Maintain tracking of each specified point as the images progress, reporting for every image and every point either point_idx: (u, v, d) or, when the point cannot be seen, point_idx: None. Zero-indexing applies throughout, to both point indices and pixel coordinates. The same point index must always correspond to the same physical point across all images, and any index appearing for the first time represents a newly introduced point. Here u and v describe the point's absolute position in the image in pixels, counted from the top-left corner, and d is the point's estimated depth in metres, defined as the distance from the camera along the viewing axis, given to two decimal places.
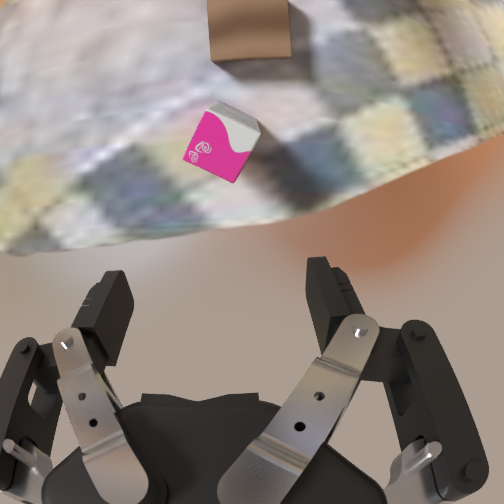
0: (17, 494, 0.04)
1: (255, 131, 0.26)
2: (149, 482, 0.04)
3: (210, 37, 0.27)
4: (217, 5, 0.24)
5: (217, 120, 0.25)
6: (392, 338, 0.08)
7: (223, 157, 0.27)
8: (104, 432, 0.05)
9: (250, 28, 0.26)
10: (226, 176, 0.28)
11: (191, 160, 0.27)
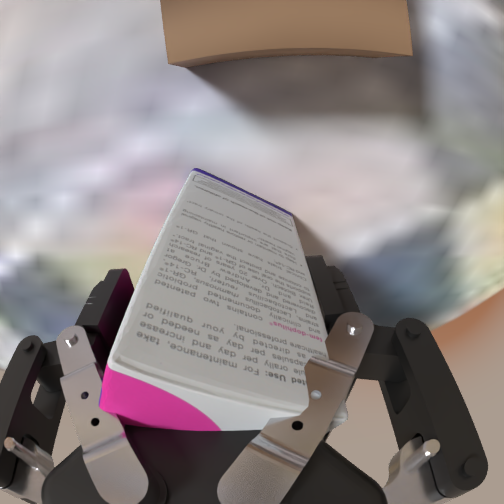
0: (17, 492, 0.04)
1: None
2: (149, 482, 0.04)
3: None
4: None
5: (169, 400, 0.05)
6: (387, 336, 0.09)
7: None
8: (106, 431, 0.05)
9: None
10: None
11: None
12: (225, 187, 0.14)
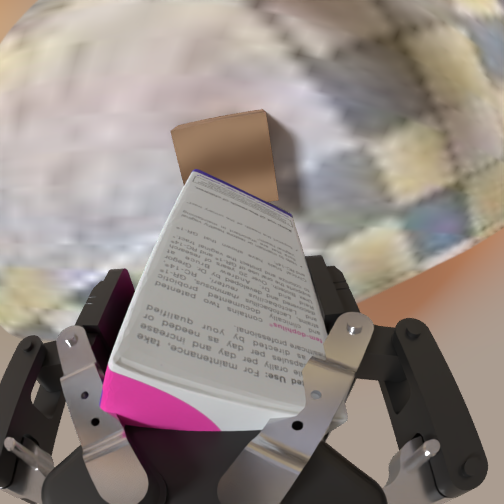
0: (17, 492, 0.04)
1: None
2: (149, 483, 0.04)
3: None
4: (187, 146, 0.27)
5: (169, 401, 0.05)
6: (387, 336, 0.09)
7: None
8: (106, 431, 0.05)
9: (228, 173, 0.28)
10: None
11: None
12: (225, 188, 0.14)
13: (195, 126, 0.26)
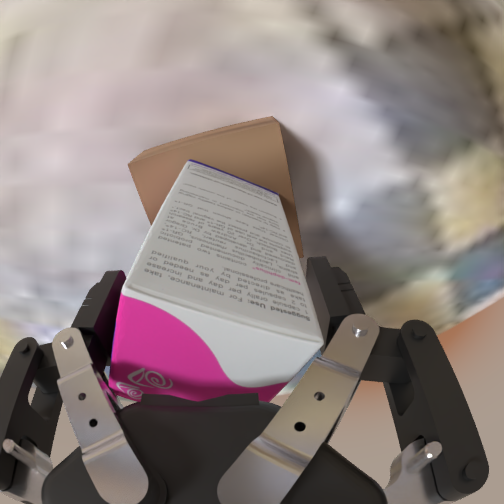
0: (17, 494, 0.04)
1: (306, 340, 0.08)
2: (149, 482, 0.04)
3: None
4: (155, 186, 0.17)
5: (170, 322, 0.07)
6: (392, 338, 0.08)
7: (211, 396, 0.09)
8: (105, 432, 0.05)
9: None
10: None
11: (129, 396, 0.09)
12: (216, 173, 0.16)
13: (164, 153, 0.16)
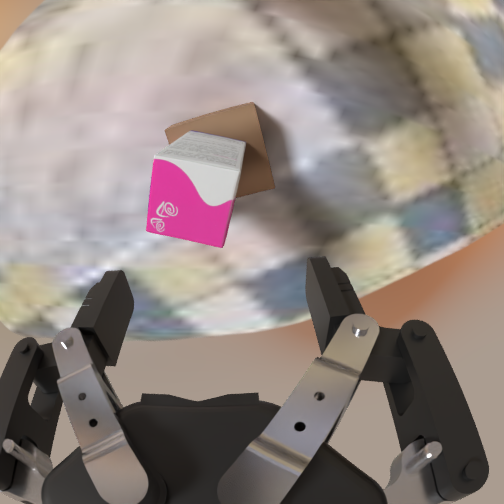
0: (17, 494, 0.04)
1: (231, 169, 0.18)
2: (149, 481, 0.04)
3: None
4: None
5: (173, 168, 0.18)
6: (392, 338, 0.08)
7: (197, 217, 0.19)
8: (104, 432, 0.05)
9: None
10: (209, 241, 0.20)
11: (157, 230, 0.20)
12: (205, 134, 0.26)
13: (187, 123, 0.27)
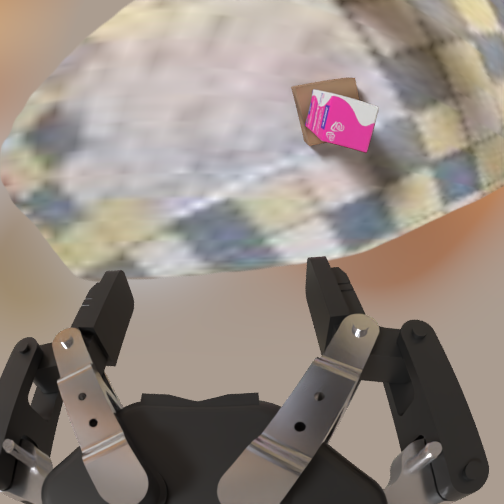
0: (17, 494, 0.04)
1: (374, 106, 0.28)
2: (149, 482, 0.04)
3: (306, 127, 0.40)
4: (307, 98, 0.38)
5: (343, 102, 0.28)
6: (392, 338, 0.08)
7: (355, 132, 0.30)
8: (104, 431, 0.05)
9: None
10: (360, 147, 0.30)
11: (329, 140, 0.30)
12: None
13: (312, 85, 0.36)
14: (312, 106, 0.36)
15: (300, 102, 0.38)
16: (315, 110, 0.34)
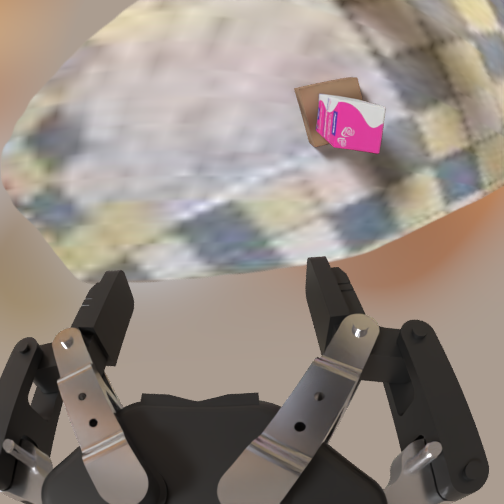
0: (17, 494, 0.04)
1: (381, 106, 0.28)
2: (149, 482, 0.04)
3: (310, 128, 0.40)
4: (310, 99, 0.38)
5: (350, 106, 0.28)
6: (392, 338, 0.08)
7: (365, 135, 0.30)
8: (105, 431, 0.05)
9: None
10: (372, 149, 0.30)
11: (341, 145, 0.30)
12: (332, 95, 0.36)
13: (315, 86, 0.36)
14: (320, 111, 0.36)
15: (304, 104, 0.38)
16: (324, 116, 0.34)
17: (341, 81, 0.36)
